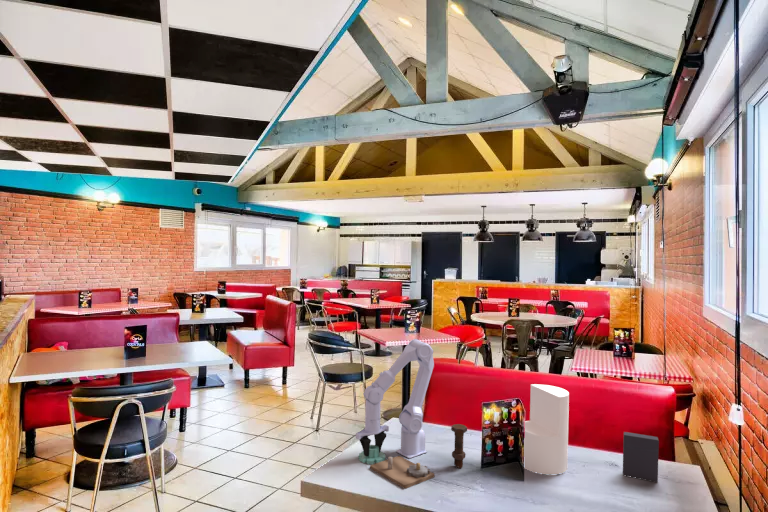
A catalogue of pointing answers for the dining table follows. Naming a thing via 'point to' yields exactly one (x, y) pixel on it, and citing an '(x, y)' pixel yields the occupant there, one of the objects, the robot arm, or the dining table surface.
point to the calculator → (640, 456)
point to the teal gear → (372, 455)
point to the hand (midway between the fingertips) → (372, 453)
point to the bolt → (458, 444)
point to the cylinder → (547, 430)
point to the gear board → (402, 471)
